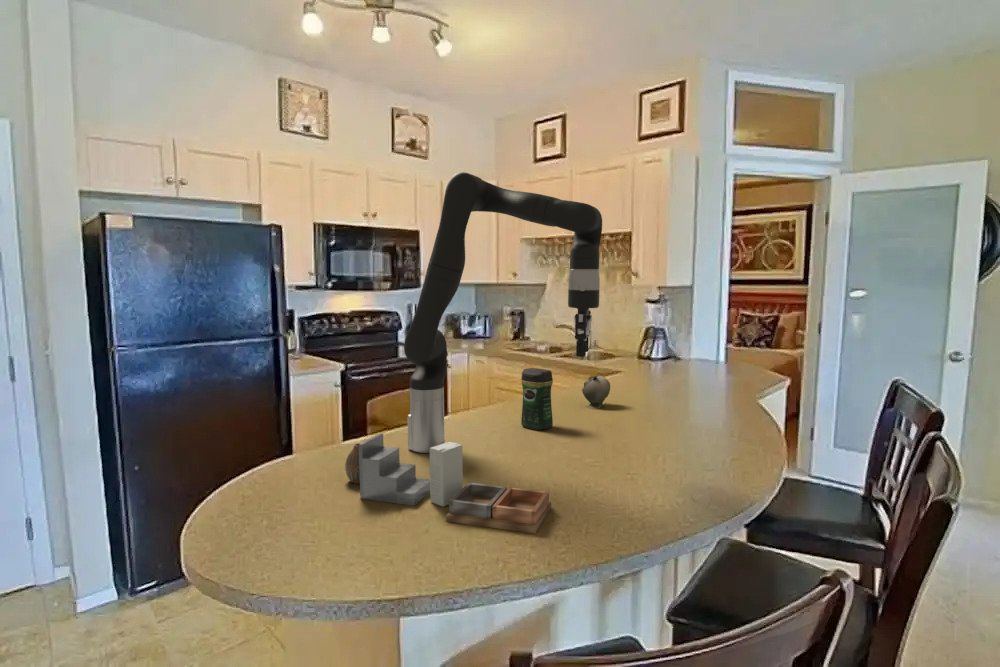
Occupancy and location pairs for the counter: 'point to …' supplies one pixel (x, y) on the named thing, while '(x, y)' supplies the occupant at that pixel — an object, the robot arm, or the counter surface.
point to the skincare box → (445, 472)
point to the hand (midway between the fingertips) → (582, 354)
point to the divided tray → (499, 507)
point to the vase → (353, 465)
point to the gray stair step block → (388, 475)
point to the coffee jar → (536, 399)
